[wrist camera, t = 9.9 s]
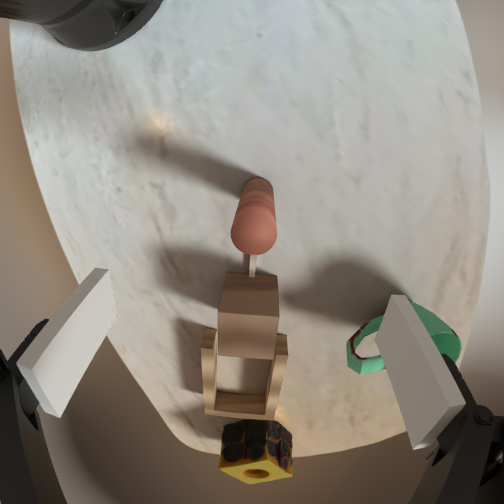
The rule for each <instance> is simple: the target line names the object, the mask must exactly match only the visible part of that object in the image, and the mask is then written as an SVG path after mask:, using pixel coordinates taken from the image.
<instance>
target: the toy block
mask: <svg viewBox="0 0 504 504" xmlns="http://www.w3.org/2000/svg"><path fill="white" fill-rule="evenodd" d="M292 448H293V447H292V434H291V433H290V432H288V431H287V429H285V428H284V427H283V426H282V425H281V424H279V422H276V421H274V419H273V420H258V419H246V420H242V421H240V422H237V423H233V424H228V425H226V426H224V431H223V433H222V446H221V457H220V463H219V469H220V470H222V471H224V472H226V473H227V474H229V475H231V476H233V477H235V478H237V479H239V480H241V481H243V482H245V483H246V484H253V483H259V482H266V481H271V480H276V479H281V478H286V477H291V476H293V473H292Z"/></svg>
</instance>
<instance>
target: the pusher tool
mask: <svg viewBox="0 0 504 504" xmlns="http://www.w3.org/2000/svg"><path fill="white" fill-rule="evenodd" d="M276 238H277V229H276V217H275V206H274V195H273V188H272V185H271V184H270V182H269V181H268V180H266V179H264V178H261V177H255V178H252V179H250V180H248V181H247V182H246V184H245V185H244V188H243V191H242V194H241V198H240V201H239V205H238V208H237V211H236V215H235V218H234V221H233V225H232V228H231V239H232V241H233V243H234V245H235V246H236V248H237V249H239V250H240V251H241V252H243V253H245V254H249V255H250V267H249V274H245V273H232V272H227V274H226V278H225V283H224V287H223V291H222V295H221V300H220V304H219V308H218V355H220V356H230V357H242V358H255V359H271V360H273V356H274V350H275V343H276V337H277V330H278V323H279V299H278V281H277V276H271V275H258V274H255V268H256V255H259V254H263V253H265V252H267V251H268V250H270V249H271V248H272V247H273V245H274V243H275V241H276Z"/></svg>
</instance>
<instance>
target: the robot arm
mask: <svg viewBox="0 0 504 504" xmlns="http://www.w3.org/2000/svg"><path fill="white" fill-rule="evenodd" d="M162 1H163V0H0V17H2V18H8V19H14V20H20V21H26V22H31V23H36V24H40V25H42V26H43V27H44V28H45V29H46V30H48V31H49V32H50V33H51V34H52V35H53V36H54V38H55V39H56V40H57V41H58V42H59V43H61V44H63V45H65V46H67V47H69V48H73V49H77V50H82V51H98V50H103V49H106V48H109V47H112V46H114V45H117V44H119V43H121V42H123V41H124V40H126V39H128V38H129V37H131V36H132V35H133V34H135V33H136V32H137V31H138V30H140V29H141V28H142V27H143V26H144V25H145V24H146V23H147V22H148V21H149V20H150V19H151V18H152V16H153V15H154V14H155V13H156V11H157V10H158V8H159V7H160V5H161V3H162ZM117 317H118V316H117V311H116V306H115V301H114V296H113V290H112V285H111V279H110V273H109V269H101V268H95V269H94V270H93V271H92V272H91V273H90V274H89V275H88V276H87V277H86V279H85V280H84V281H83V282H82V283H81V284H80V285H79V286H78V287H77V289H76V290H75V291H74V292H73V293H72V294H71V295H70V297H69V298H68V299H67V300H66V301H65V302H64V303H63V305H62V306H61V307H60V308H59V309H58V311H57V312H56V313H55V314H54V315H53V317H52V318H51V319H50V320H49V319H44V320H43V321H41V322H40V323H38V324H37V325H36V326H35V327H34V328H33V329H32V331H31V332H30V334H29V335H28V336H27V337H26V338H25V341H23V342H22V343H21V344H20V346H19V347H18V348H17V349H16V351H15V352H14V353H13V355H12V356H11V357H10V358H9V360H8V361H7V360H6V358H5V356H4V354H3V352H2V350H1V349H0V501H1V504H67V502H66V500H65V497H64V495H63V492H62V490H61V487H60V485H59V482H58V479H57V476H56V473H55V470H54V467H53V464H52V462H51V458H50V455H49V452H48V448H47V445H46V441H45V437H44V434H43V430H42V426H41V422H40V417H39V414H38V411H37V409H36V408H37V406H38V404H39V403H40V405H41V406H42V408H43V409H44V411H45V412H47V413H49V414H52V415H54V416H56V417H59V418H60V417H61V415H62V413H63V411H64V409H65V407H66V406H67V403H68V402H69V400H70V398H71V396H72V394H73V392H74V391H75V389H76V387H77V385H78V383H79V381H80V380H81V378H82V376H83V374H84V372H85V370H86V369H87V367H88V365H89V364H90V362H91V360H92V358H93V357H94V355H95V353H96V351H97V350H98V348H99V346H100V345H101V343H102V341H103V340H104V338H105V336H106V335H107V333H108V331H109V330H110V328H111V327H112V325H113V323H114V322H115V320H116V318H117ZM375 341H376V344H377V346H378V349H379V352H380V354H381V357H382V359H383V362H384V365H385V367H386V370H387V373H388V376H389V378H390V381H391V384H392V387H393V390H394V392H395V395H396V398H397V401H398V404H399V407H400V410H401V413H402V416H403V419H404V422H405V425H406V428H407V432H408V435H409V438H410V441H411V445H412V448H413V450H414V449H418V448H423V447H428V446H430V445H431V444H432V443H433V442H434V440H435V439H436V438H437V440H438V443H439V445H438V446H437V447H436V448H435V449H434V450H433V451H432V452H431V453H430V454H429V455H428V456H427V457H426V459H427V460H428V459H429V458H430V457H431V456H432V458H431V460H430V462H429V464H428V466H427V468H426V471H425V473H424V475H423V477H422V479H421V481H420V483H419V485H418V486H417V488H416V490H415V492H414V494H413V496H412V498H411V500H410V502H409V503H408V504H504V417H503V416H494V415H493V413H492V412H491V411H490V410H489V409H488V408H487V407H485V406H482V405H477V404H476V402H475V400H474V398H473V396H472V394H471V392H470V390H469V388H468V387H467V385H466V383H465V381H464V379H462V375H461V373H460V372H459V370H458V368H457V366H456V364H455V363H454V361H453V360H452V359H451V358H450V357H449V356H448V355H447V354H446V353H444V354H440V352H439V351H438V349H437V347H436V345H435V343H434V342H433V340H432V338H431V337H430V335H429V333H428V331H427V330H426V328H425V326H424V325H423V323H422V321H421V320H420V318H419V316H418V315H417V313H416V312H415V310H414V308H413V307H412V305H411V304H410V302H409V300H408V299H407V297H406V296H405V295H391V297H390V300H389V303H388V306H387V309H386V311H385V314H384V317H383V320H382V322H381V325H380V327H379V330H378V332H377V335H376V337H375ZM502 456H503V462H502V463H500V457H502Z"/></svg>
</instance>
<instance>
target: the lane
mask: <svg viewBox="0 0 504 504" xmlns="http://www.w3.org/2000/svg"><path fill="white" fill-rule="evenodd" d="M287 358H288V347H287V335H277V337H276V343H275V350H274V356H273V360H271V366H270V372H269V377H268V383H267V388H266V394H265V396H257V395H244V394H233V393H223V392H217V329H209V328H206V330H205V334H204V337H203V341H202V345H201V363H202V382H203V398H204V412H205V414H206V415H214V416H223V417H233V418H244V419H258V420H273V419H274V415H275V411H276V406H277V402H278V398H279V394H280V390H281V385H282V381H283V376H284V372H285V368H286V363H287Z"/></svg>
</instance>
